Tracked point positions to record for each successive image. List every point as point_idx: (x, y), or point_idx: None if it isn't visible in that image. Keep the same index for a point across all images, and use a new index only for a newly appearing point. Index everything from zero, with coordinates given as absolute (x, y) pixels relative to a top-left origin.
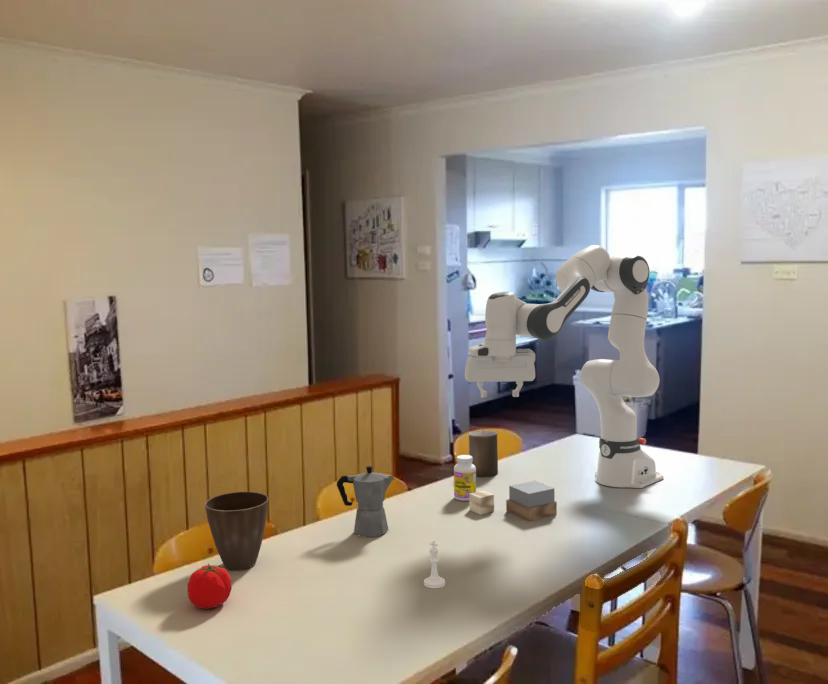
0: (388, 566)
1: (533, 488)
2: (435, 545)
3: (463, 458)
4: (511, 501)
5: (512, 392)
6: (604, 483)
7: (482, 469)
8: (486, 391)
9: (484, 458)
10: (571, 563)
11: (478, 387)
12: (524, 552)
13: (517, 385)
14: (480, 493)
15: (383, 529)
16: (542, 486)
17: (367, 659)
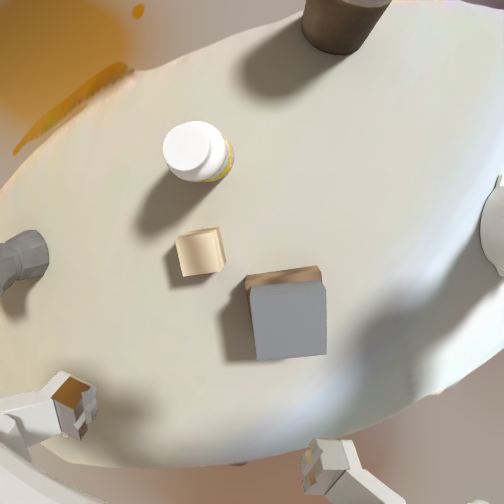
0: (46, 358)
1: (287, 337)
2: (66, 436)
3: (173, 161)
4: (248, 298)
5: (319, 456)
6: (482, 235)
7: (321, 41)
8: (77, 434)
9: (330, 31)
10: (225, 449)
11: (10, 401)
12: (189, 413)
13: (374, 496)
14: (196, 250)
15: (39, 274)
16: (313, 334)
17: (48, 442)
